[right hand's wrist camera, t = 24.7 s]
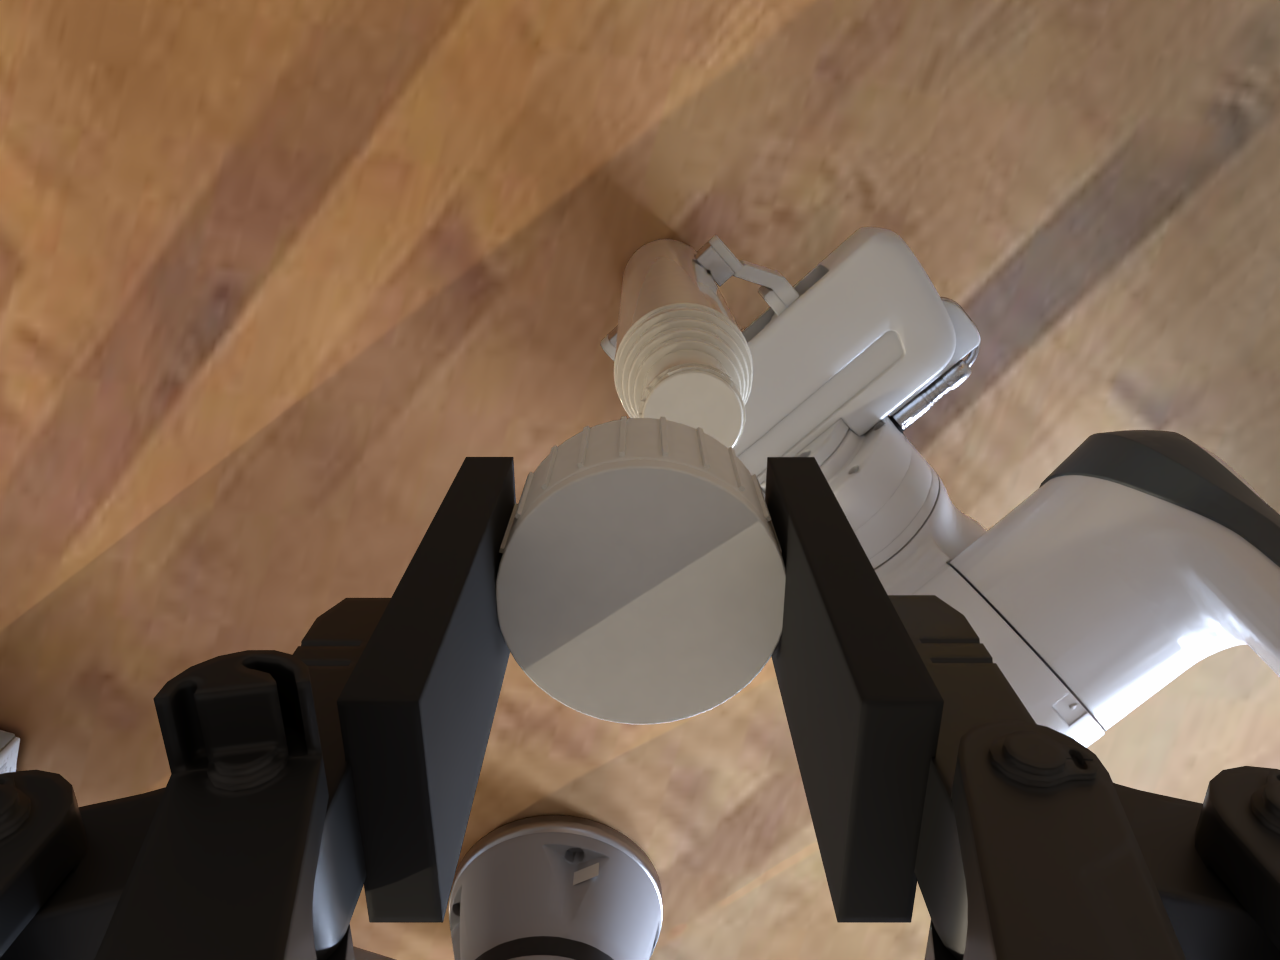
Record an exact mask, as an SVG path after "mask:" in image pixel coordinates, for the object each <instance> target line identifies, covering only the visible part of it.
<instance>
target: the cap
mask: <svg viewBox="0 0 1280 960" xmlns="http://www.w3.org/2000/svg"><path fill="white" fill-rule="evenodd" d="M499 553H503V554H502V557H501V560H500V564H499V569H498V573H497V578H496V600H497V614H498V621H499V625H500V629H501V632H502V634H503V637H504V639H505V642H506V644H507V646H508V648H509V650H510V652H511V653H512V655H513V657H514V659H515V660H516V662H517V663H518V664H519V666H520V667H521V668H522V670H523V671H524V672H525V674H526V675H527V676H528V677H529V678H530V679H531V680H532V681H533V682H534V683H535V684H536V685H537V686H538V687H539V688H541V689H542V690H543V691H545V692H546V693H547V694H548V695H550V696H551V697H552V698H554V699H556V700H557V701H559V702H561V703H562V704H564V705H566V706H567V707H570V708H572V709H574V710H576V711H578V712H581V713H583V714H586V715H589V716H592V717H595V718H598V719H602V720H607V721H612V722H616V723H626V724H659V723H667V722H673V721H677V720H682V719H686V718H690V717H692V716H695V715H698V714H701V713H704V712H706V711H708V710H710V709H712V708H714V707H716V706H718V705H720V704H722V703H724V702H725V701H727V700H728V699H730V698H731V697H733V696H734V695H736V694H737V693H738V692H740V691H741V690H742V689H743V688H744V687H746V686H747V685H748V684H749V683H750V682H751V681H752V680H753V679H754V678H755V677H756V676H757V675H758V673H759V672H760V671H761V670H762V669H763V667H764V666H765V664H766V663H767V662H768V660H769V659H770V657H771V656H772V654H773V652H774V650H775V648H776V646H777V644H778V642H779V640H780V637H781V634H782V625H783V610H784V596H785V581H786V568H785V564H784V560H783V557H782V550H781V547H780V544H779V541H778V538H777V535H776V532H775V529H774V526H773V523H772V520H771V517H770V514H769V511H768V508H767V505H766V502H765V499H764V496H763V493H762V490H761V487H760V484H759V481H758V478H757V476H756V475H755V474H754V475H751V473H750V472H749V470H748V469H747V468H746V467H745V465H744V464H743V463H742V462H741V460H740V459H739V458H738V457H737V456H736V454H735V451H734V449H733V448H732V447H730V448H729V449H728V448H727V447H726V446H724V445H723V444H722V443H720V442H719V441H717V440H716V439H715V438H713V437H711V436H709V435H707V434H705V433H704V432H703V429H702V428H700V427H698V428H697V429H695V428H692V427H690V426H687V425H684V424H681V423H677V422H673V421H669V420H666V417H660V419H654V418H629V419H627V417H626V416H624V417H621V420H615V421H610V422H607V423H603V424H600V425H596V426H594V427H591V428H589V426H586V427H584V429H583V431H582V432H580V433H578V434H576V435H575V436H573V437H571V438H570V439H568V440H566V441H565V442H564V443H562V444H561V445H560V446H558V447H557V446H556V445H555V446H553V447H552V449H551V452H550V454H549V455H548V456H547V457H546V458H545V459H544V460H543V461H542V462H541V464H540V465H539V466H538V468H537V469H536V470H535V472H534V473H532V472H530V473H529V474H528V477H527V480H526V483H525V486H524V489H523V492H522V495H521V498H520V501H519V504H516V503H515V505H514V508H513V511H512V514H511V517H510V520H509V523H508V526H507V529H506V532H505V535H504V538H503V541H502V544H501V547H500V550H499Z"/></svg>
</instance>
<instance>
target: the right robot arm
mask: <svg viewBox="0 0 1280 960" xmlns="http://www.w3.org/2000/svg"><path fill="white" fill-rule="evenodd" d="M765 502H766V505H767V508H768V511H769V514H770V517H771V520H772V523H773V526H774V529H775V532H776V535H777V538H778V541H779V544H780V547H781V550H782V557H783V560H784V564H785V568H786V581H785V596H784V610H783V625H782V634H781V637H780V640H779V642H778V644H777V646H776V648H775V650H774V652H773V654H772V660H773V664H774V668H775V672H776V676H777V680H778V684H779V688H780V692H781V696H782V700H783V704H784V708H785V712H786V716H787V720H788V724H789V728H790V732H791V736H792V740H793V745H794V749H795V753H796V757H797V761H798V765H799V769H800V773H801V777H802V781H803V785H804V789H805V793H806V797H807V801H808V805H809V809H810V813H811V817H812V821H813V825H814V829H815V833H816V837H817V841H818V845H819V849H820V853H821V857H822V861H823V865H824V869H825V873H826V877H827V881H828V885H829V889H830V893H831V897H832V901H833V905H834V909H835V913H836V918H837V922H911V918H912V912H913V905H914V898H915V892H916V885H917V881H918V884H919V887H920V889H921V892H922V895H923V898H924V900H925V903H926V906H927V908H928V911H929V914H930V917H931V924H930V930H929V936H928V942H927V949H926V955H925V960H1280V770H1278V769H1271V768H1261V767H1251V766H1243V767H1238V768H1232V769H1227V770H1222V771H1221V772H1220V773H1219V774H1218V775H1217V776H1215V777H1214V778H1213V779H1212V780H1211V781H1210V782H1209V786H1208V789H1207V793H1206V796H1205V799H1204V803H1203V804H1201V803H1196V802H1192V801H1187V800H1182V799H1178V798H1173V797H1168V796H1163V795H1159V794H1154V793H1149V792H1145V791H1140V790H1136V789H1133V788H1129V787H1125V786H1122V785H1118V784H1115V783H1113V782H1112V780H1111V778H1110V775H1109V773H1108V772H1107V770H1106V769H1105V767H1104V766H1103V764H1102V763H1101V762H1100V760H1099V759H1098V757H1097V756H1096V755H1095V754H1094V753H1093V752H1091V751H1090V750H1089V749H1087V748H1086V747H1085V746H1083V745H1082V744H1080V743H1079V742H1078V741H1076V740H1075V739H1074V738H1071V737H1069V736H1067V735H1065V734H1062V733H1060V732H1058V731H1056V730H1053V729H1051V728H1049V727H1046V726H1042V725H1037V724H1036V722H1035V721H1034V719H1033V718H1032V716H1031V715H1030V713H1029V712H1028V710H1027V709H1026V707H1025V706H1024V704H1023V703H1022V701H1021V700H1020V698H1019V697H1018V695H1017V694H1016V692H1015V691H1014V689H1013V688H1012V686H1011V685H1010V683H1009V682H1008V680H1007V679H1006V677H1005V676H1004V674H1003V673H1002V671H1001V670H1000V668H999V667H998V665H997V664H996V663H993V658H992V656H991V655H990V653H989V652H988V650H987V649H986V647H985V646H984V644H983V643H980V638H979V637H978V635H977V634H976V632H975V631H974V629H973V628H972V626H971V625H970V623H969V622H968V620H967V619H966V617H965V616H964V615H963V614H961V613H960V612H959V611H957V610H956V609H954V608H953V607H951V606H950V605H948V604H947V603H946V602H944V601H943V600H941V599H940V598H938V597H937V596H935V595H887V593H886V591H885V589H884V587H883V585H882V583H881V582H880V580H879V578H878V576H877V574H876V572H875V570H874V568H873V566H872V565H871V563H870V561H869V559H868V557H867V555H866V553H865V551H864V550H863V548H862V546H861V544H860V542H859V540H858V538H857V536H856V534H855V533H854V531H853V529H852V527H851V525H850V523H849V521H848V519H847V518H846V516H845V514H844V512H843V510H842V508H841V506H840V504H839V502H838V501H837V499H836V497H835V495H834V493H833V491H832V489H831V487H830V485H829V484H828V482H827V480H826V478H825V476H824V474H823V472H822V470H821V469H820V467H819V465H818V463H817V461H816V459H815V457H767V472H766V490H765ZM515 503H516V498H515V480H514V462H513V457H466V458H465V460H464V462H463V464H462V466H461V468H460V470H459V472H458V473H457V475H456V477H455V479H454V481H453V483H452V485H451V487H450V488H449V490H448V492H447V494H446V496H445V498H444V500H443V502H442V504H441V505H440V507H439V509H438V511H437V513H436V515H435V517H434V519H433V521H432V522H431V524H430V526H429V528H428V530H427V532H426V534H425V536H424V537H423V539H422V541H421V543H420V545H419V547H418V549H417V551H416V553H415V554H414V556H413V558H412V560H411V562H410V564H409V566H408V568H407V570H406V571H405V573H404V575H403V577H402V579H401V581H400V583H399V585H398V586H397V588H396V590H395V592H394V594H393V596H392V598H345V599H344V600H342V601H341V602H340V603H338V604H337V605H335V606H334V607H332V608H331V609H329V610H328V611H327V612H325V613H324V614H322V615H321V616H319V617H318V618H317V619H316V620H315V622H314V623H313V625H312V626H311V628H310V629H309V631H308V632H307V634H306V635H305V637H304V639H303V640H302V642H301V643H302V644H301V646H298V648H297V649H296V651H295V652H294V654H293V655H291V654H287V653H283V652H279V651H275V650H247V651H242V652H237V653H232V654H227V655H222V656H218V657H215V658H213V659H210V660H207V661H205V662H202V663H200V664H197V665H195V666H192V667H190V668H188V669H187V670H185V671H184V672H182V673H181V674H179V675H177V676H176V677H174V678H173V679H171V680H170V681H168V682H167V683H166V684H165V686H164V687H163V688H162V689H161V690H160V692H159V693H158V694H157V695H156V696H155V698H154V703H155V707H156V711H157V715H158V719H159V723H160V728H161V732H162V736H163V740H164V744H165V748H166V753H167V757H168V761H169V765H170V769H171V777H170V779H169V782H168V784H167V786H166V787H165V788H162V789H158V790H154V791H151V792H147V793H144V794H140V795H135V796H130V797H126V798H121V799H116V800H111V801H107V802H102V803H97V804H93V805H88V806H83V807H78V804H77V800H76V797H75V794H74V790H73V787H72V785H71V784H70V783H69V782H68V781H67V780H65V779H64V778H63V777H62V776H61V775H60V774H56V773H51V772H45V771H40V770H28V771H18V772H8V773H3V774H0V960H395V959H392V958H389V957H386V956H382V955H379V954H376V953H373V952H370V951H366V950H363V949H360V948H357V947H353V943H352V936H351V930H350V924H349V923H350V920H351V917H352V915H353V912H354V909H355V906H356V904H357V901H358V898H359V895H360V893H361V890H362V887H363V885H364V888H365V895H366V901H367V908H368V915H369V921H370V922H443V920H444V916H445V912H446V908H447V904H448V900H449V896H450V892H451V888H452V892H451V896H450V902H449V922H450V930H451V937H452V944H453V951H454V958H455V960H649V958H650V957H651V955H652V953H653V951H654V948H655V946H656V943H657V941H658V938H659V933H660V929H661V925H662V891H661V885H660V881H659V877H658V875H657V872H656V870H655V868H654V866H653V864H652V863H651V861H650V860H649V858H648V857H647V855H646V854H645V853H644V852H643V851H642V850H641V849H640V848H639V847H638V846H637V845H636V844H635V843H634V842H633V841H631V840H630V839H629V838H628V837H626V836H624V835H623V834H621V833H620V832H618V831H616V830H614V829H612V828H610V827H608V826H606V825H603V824H601V823H598V822H595V821H592V820H588V819H583V818H579V817H572V816H561V815H547V816H536V817H530V818H525V819H521V820H517V821H514V822H511V823H509V824H506V825H504V826H502V827H499V828H497V829H496V830H494V831H492V832H490V833H489V834H487V835H486V836H484V837H483V838H482V839H480V840H479V841H478V842H477V843H476V844H475V845H474V846H473V847H472V848H471V849H470V850H469V851H468V853H467V854H466V855H465V857H464V858H463V860H462V862H461V863H460V865H459V868H458V870H457V872H456V868H457V863H458V859H459V855H460V851H461V847H462V843H463V839H464V835H465V831H466V827H467V823H468V819H469V815H470V811H471V807H472V803H473V799H474V795H475V791H476V787H477V783H478V779H479V775H480V771H481V767H482V763H483V759H484V755H485V751H486V747H487V743H488V739H489V735H490V731H491V727H492V723H493V719H494V715H495V711H496V707H497V702H498V698H499V694H500V690H501V686H502V682H503V678H504V674H505V670H506V666H507V662H508V658H509V654H510V650H509V648H508V646H507V644H506V642H505V639H504V637H503V634H502V632H501V629H500V625H499V621H498V614H497V600H496V578H497V573H498V569H499V564H500V560H501V557H502V554H503V553H499V550H500V547H501V544H502V541H503V538H504V535H505V532H506V529H507V526H508V523H509V520H510V517H511V514H512V511H513V508H514V505H515ZM455 872H456V876H455ZM454 876H455V879H454ZM453 880H454V883H453ZM452 884H453V887H452Z"/></svg>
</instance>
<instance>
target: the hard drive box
mask: <svg viewBox="0 0 1280 960" xmlns="http://www.w3.org/2000/svg"><path fill="white" fill-rule="evenodd" d="M19 744H20V738H19V737H15V734H14V733H9V732H6V731H2V730H0V774H3V773H8V772H16V763H17V757H18V751H19Z"/></svg>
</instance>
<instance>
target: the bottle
mask: <svg viewBox="0 0 1280 960" xmlns="http://www.w3.org/2000/svg"><path fill="white" fill-rule="evenodd" d="M695 253H697V252H696V251H695V250H694V249H693V248H692V247H690V246H689V245H687V244H685V243H683V242H681V241H677V240H673V239H660V240H655V241H652V242H649V243H647V244H645V245H644V246H642V247H641V248H639V249H638V250H637V251H636V252H635V253H634V254H633V255H632V257H631V258H630V259H629V261H628V263H627V265H626V267H625V270H624V274H623V281H622V291H621V301H620V311H619V321H618V331H617V341H616V350H615V360H614V382H615V388H616V391H617V394H618V397H619V399H620V401H621V403H622V405H623V407H624V409H625V411H626V412H627V414H628V415H629V417H630V418H654V419H660V417H666V420H669V421H673V422H677V423H681V424H684V425H687V426H690V427H692V428H695V429H697V428H698V427H700V428H702V429H703V432H704V433H705V434H707V435H709V436H711V437H713V438H715V439H716V440H717V441H719V442H720V443H722V444H723V445H724V446H726V447H727V448H728V449H729V448H730V447H732V448H734V446H735V445H737V443H738V441H739V439H740V437H741V435H742V433H743V430H744V425H745V420H746V414H745V404H746V402H747V400H748V398H749V394H750V391H751V386H752V377H753V363H752V356H751V352H750V348H749V346H748V343H747V341H746V339H745V337H744V335H743V333H742V331H741V330H740V328H739V326H738V324H737V322H736V320H735V318H734V317H733V315H732V313H731V311H730V309H729V307H728V305H727V304H726V302H725V300H724V298H723V296H722V294H721V292H720V290H719V289H718V287H717V285H716V283H715V281H714V280H713V278H712V276H711V275H710V273H709V271H708V270H706V269H705V268H704V267H702V266H701V265H700V264H699V262H698V261H697V260H696V259H695V257H694V254H695Z"/></svg>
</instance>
